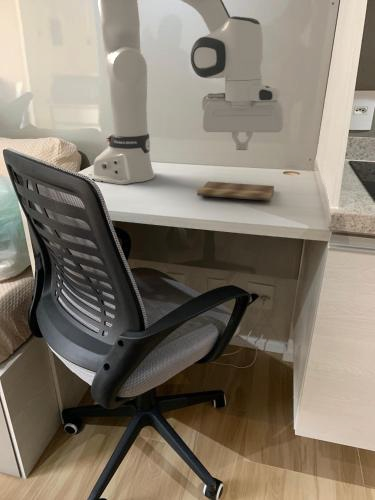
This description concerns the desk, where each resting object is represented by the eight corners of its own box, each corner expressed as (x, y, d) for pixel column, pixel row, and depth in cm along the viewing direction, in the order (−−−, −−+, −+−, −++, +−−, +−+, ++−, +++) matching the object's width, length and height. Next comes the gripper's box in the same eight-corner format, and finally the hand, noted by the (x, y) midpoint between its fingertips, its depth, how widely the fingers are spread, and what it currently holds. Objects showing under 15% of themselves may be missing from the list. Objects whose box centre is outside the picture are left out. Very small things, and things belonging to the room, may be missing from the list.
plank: (197, 195, 110) (197, 189, 109) (202, 192, 116) (203, 187, 116) (270, 200, 105) (270, 194, 104) (271, 197, 111) (272, 192, 111)
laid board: (203, 192, 117) (203, 186, 116) (207, 186, 122) (208, 181, 121) (271, 197, 112) (272, 191, 111) (273, 191, 117) (274, 185, 116)
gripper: (198, 94, 97) (200, 151, 103) (284, 92, 91) (280, 153, 97) (205, 92, 102) (206, 146, 108) (286, 90, 96) (282, 147, 102)
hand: (242, 149), depth 102 cm, fingers closed
